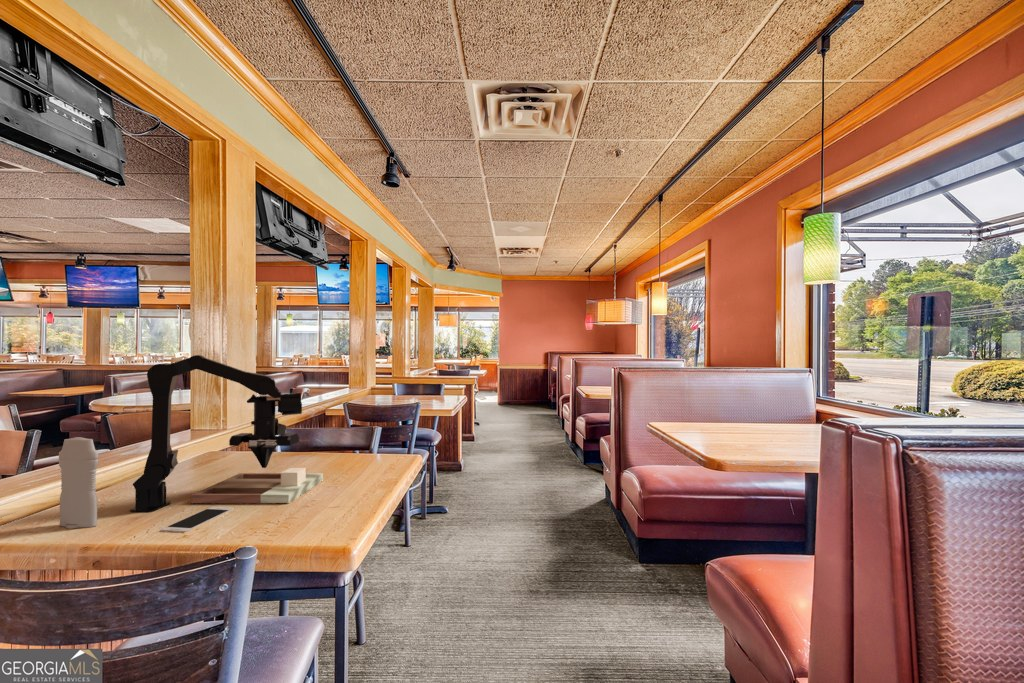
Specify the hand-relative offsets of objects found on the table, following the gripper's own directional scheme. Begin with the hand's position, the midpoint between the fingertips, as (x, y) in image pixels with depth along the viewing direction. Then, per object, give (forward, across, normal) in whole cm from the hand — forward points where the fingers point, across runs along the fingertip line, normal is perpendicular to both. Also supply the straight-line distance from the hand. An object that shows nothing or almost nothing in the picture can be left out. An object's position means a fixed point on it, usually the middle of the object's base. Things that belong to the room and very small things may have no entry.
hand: (264, 467), depth 133 cm
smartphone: (+8, +4, +22) cm, 23 cm away
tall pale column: (+8, +32, +26) cm, 41 cm away
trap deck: (+7, +1, 0) cm, 7 cm away
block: (+5, -9, 0) cm, 10 cm away
